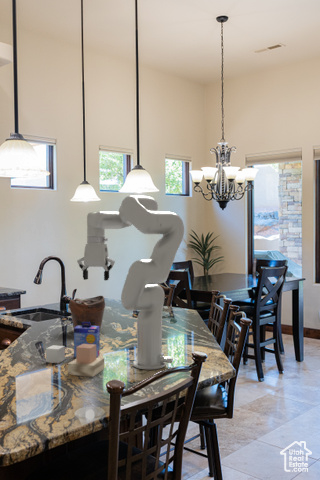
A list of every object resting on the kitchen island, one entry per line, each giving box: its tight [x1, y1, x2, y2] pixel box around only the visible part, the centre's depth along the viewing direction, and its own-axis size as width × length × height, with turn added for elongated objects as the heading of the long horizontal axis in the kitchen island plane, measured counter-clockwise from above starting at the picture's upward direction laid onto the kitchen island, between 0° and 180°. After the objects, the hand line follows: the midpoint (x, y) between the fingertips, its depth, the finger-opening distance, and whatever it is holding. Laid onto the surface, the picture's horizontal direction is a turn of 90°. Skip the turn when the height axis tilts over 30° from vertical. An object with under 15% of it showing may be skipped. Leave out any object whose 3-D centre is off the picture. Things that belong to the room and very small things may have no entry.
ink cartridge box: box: [73, 322, 101, 358], centre depth 199 cm, size 10×6×14 cm, turn 85°
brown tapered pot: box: [68, 295, 106, 332], centre depth 246 cm, size 18×20×18 cm
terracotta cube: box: [75, 344, 96, 363], centre depth 177 cm, size 6×6×6 cm
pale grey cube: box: [45, 344, 66, 364], centre depth 192 cm, size 6×6×6 cm
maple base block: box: [67, 357, 105, 377], centre depth 177 cm, size 10×10×4 cm
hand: (95, 279), depth 210 cm, fingers open, 9 cm apart
